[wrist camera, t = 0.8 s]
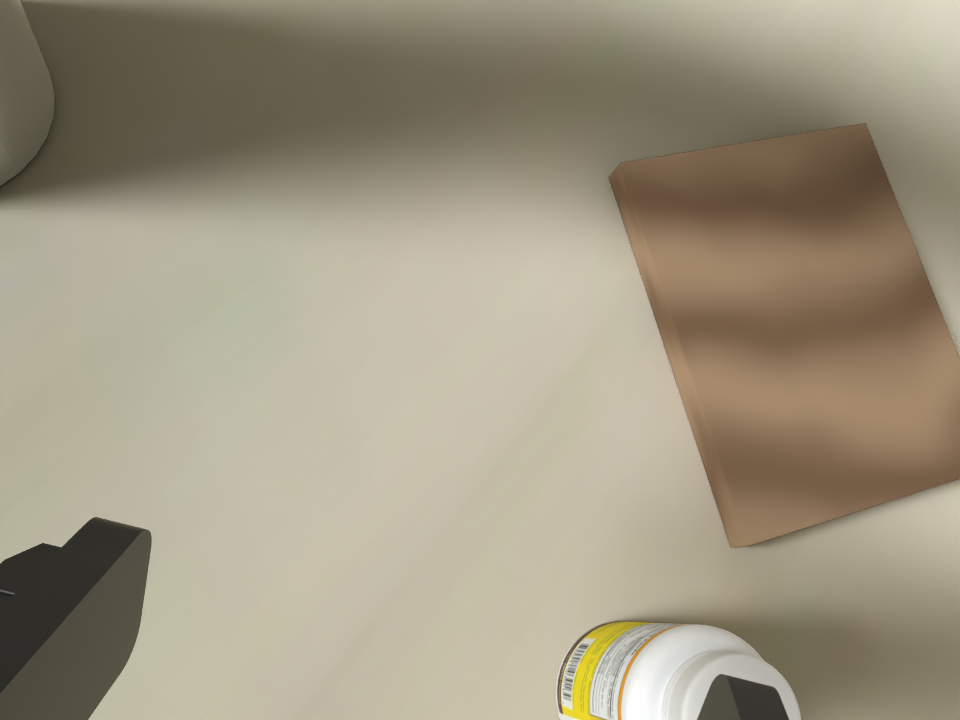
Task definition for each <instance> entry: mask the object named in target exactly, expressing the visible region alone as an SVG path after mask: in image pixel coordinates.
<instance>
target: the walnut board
mask: <svg viewBox="0 0 960 720" xmlns="http://www.w3.org/2000/svg"><path fill="white" fill-rule="evenodd" d="M609 180H610V183H611V186H612V189H613V192H614V195H615V198H616V201H617V204H618V207H619V210H620V213H621V216H622V219H623V222H624V225H625V228H626V232H627V235H628V238H629V241H630V244H631V247H632V250H633V253H634V256H635V259H636V262H637V265H638V268H639V271H640V274H641V277H642V280H643V283H644V286H645V289H646V292H647V295H648V298H649V301H650V304H651V307H652V310H653V313H654V316H655V319H656V322H657V325H658V328H659V331H660V334H661V337H662V341H663V344H664V347H665V350H666V353H667V356H668V359H669V362H670V365H671V368H672V371H673V374H674V377H675V380H676V383H677V386H678V389H679V392H680V395H681V398H682V401H683V404H684V407H685V410H686V413H687V416H688V419H689V422H690V425H691V428H692V431H693V434H694V437H695V440H696V443H697V446H698V450H699V453H700V456H701V459H702V462H703V465H704V468H705V471H706V474H707V477H708V480H709V483H710V486H711V489H712V492H713V495H714V498H715V501H716V504H717V507H718V510H719V513H720V516H721V519H722V522H723V525H724V528H725V531H726V534H727V537H728V540H729V543H730V546H731V548H733V547H742V546H749V545H752V544H756V543H759V542H762V541H765V540H768V539H771V538H774V537H778V536H781V535H784V534H787V533H790V532H793V531H797V530H800V529H803V528H806V527H809V526H812V525H815V524H819V523H822V522H825V521H828V520H831V519H834V518H837V517H841V516H844V515H847V514H850V513H853V512H856V511H860V510H863V509H866V508H869V507H872V506H875V505H878V504H882V503H885V502H888V501H891V500H894V499H897V498H900V497H904V496H907V495H910V494H913V493H916V492H919V491H923V490H926V489H929V488H932V487H935V486H938V485H941V484H945V483H948V482H951V481H954V480H957V479H960V359H959V356H958V354H957V351H956V349H955V346H954V343H953V341H952V338H951V336H950V333H949V331H948V328H947V326H946V323H945V321H944V318H943V316H942V313H941V311H940V308H939V306H938V303H937V301H936V298H935V296H934V293H933V291H932V288H931V286H930V283H929V281H928V278H927V276H926V273H925V271H924V268H923V266H922V263H921V261H920V258H919V256H918V253H917V251H916V248H915V246H914V243H913V241H912V238H911V236H910V233H909V231H908V228H907V226H906V223H905V221H904V218H903V216H902V213H901V211H900V208H899V206H898V203H897V201H896V198H895V196H894V193H893V191H892V188H891V186H890V183H889V181H888V178H887V176H886V173H885V171H884V168H883V166H882V163H881V160H880V158H879V155H878V153H877V150H876V148H875V145H874V143H873V140H872V138H871V135H870V133H869V130H868V128H867V125H866V123H863V124H857V125H850V126H844V127H838V128H832V129H826V130H820V131H813V132H807V133H801V134H795V135H789V136H783V137H776V138H770V139H764V140H758V141H752V142H746V143H739V144H733V145H727V146H721V147H715V148H709V149H702V150H696V151H690V152H684V153H678V154H672V155H665V156H659V157H653V158H647V159H641V160H635V161H628V162H622V163H620V164H619V165H618V167H617V168H616V169H615V170H614V172H613V173H612V174H611V175H610V176H609Z"/></svg>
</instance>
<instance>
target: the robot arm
mask: <svg viewBox="0 0 960 720" xmlns="http://www.w3.org/2000/svg"><path fill="white" fill-rule="evenodd" d="M54 100H55V94H54V90H53V85H52V80H51V75H50V73H49V70H48V68H47V66H46V63H45V61H44V58H43V56H42V54H41V51H40V49H39V46H38V44H37V41H36V39H35V37H34V34H33V32H32V29H31V27H30V25H29V22H28V19H27V16H26V14H25V11H24V9H23V6H22V4H21V2H20V0H0V186H1V185H2V184H4V183H5V182H7V181H8V180H10V179H11V178H13V177H14V176H15V175H17V174H18V173H20V172H21V171H22V170H23V169H24V168H25V167H26V165H27V164H28V163H29V162H30V161H31V160H32V159H33V158H34V157H35V156H36V155H37V153H38V151H39V150H40V148H41V146H42V145H43V143H44V141H45V140H46V138H47V136H48V133H49V130H50V127H51V123H52V120H53V117H54ZM150 551H151V533H150V531H149V530H146V529H142V528H138V527H134V526H130V525H126V524H122V523H118V522H114V521H110V520H106V519H102V518H98V517H95V518H92V519H91V520H89V521H88V522H87V523H86V524H85V525H84V526H83V527H82V528H81V529H80V530H79V531H78V532H77V533H76V534H75V535H74V536H73V537H72V538H71V539H70V540H69V541H68V542H67V543H66V544H65V545H64V546H63V547H62V548H61V547H57V546H53V545H49V544H45V543H42V544H40V545H37V546H35V547H33V548H30V549H28V550H26V551H24V552H21V553H19V554H17V555H15V556H12V557H10V558H8V559H5V560H4V561H3V562H2V563H1V564H0V720H88V719H89V717H90V716H91V714H92V713H93V712H94V710H95V709H96V707H97V706H98V704H99V703H100V702H101V700H102V699H103V697H104V696H105V695H106V693H107V692H108V690H109V689H110V687H111V686H112V685H113V683H114V682H115V680H116V679H117V677H118V676H119V675H120V673H121V672H122V670H123V669H124V667H125V665H126V663H127V661H128V659H129V657H130V655H131V652H132V650H133V647H134V645H135V642H136V639H137V635H138V632H139V627H140V622H141V615H142V608H143V601H144V594H145V587H146V579H147V572H148V565H149V558H150ZM697 720H789V718H788V715H787V713H786V710H785V708H784V705H783V703H782V700H781V697H780V695H779V693H778V691H777V690H776V688H774V687H772V686H768V685H764V684H760V683H756V682H752V681H748V680H744V679H740V678H736V677H732V676H728V675H724V674H719V675H718V676H716V677H715V679H714V680H713V682H712V683H711V686H710V688H709V690H708V693H707V695H706V698H705V701H704V703H703V706H702V708H701V711H700V713H699V716H698V718H697Z"/></svg>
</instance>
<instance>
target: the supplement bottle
mask: <svg viewBox="0 0 960 720" xmlns="http://www.w3.org/2000/svg"><path fill="white" fill-rule="evenodd" d="M719 674H724V675H728V676H732V677H736V678H740V679H744V680H748V681H752V682H756V683H760V684H764V685H768V686H772V687H774V688H776V690H777V691H778V693H779V695H780V697H781V700H782V703H783V705H784V708H785V710H786V713H787V715H788V718H789V720H801V715H800V710H799V705H798V703H797V700H796V697H795V695H794V693H793V691H792V689H791V687H790V685H789V684H788V682H787V681H786V679H785V678H784V677H783V676H782V675H781V674H780V673H779V672H778V671H777V670H776V669H775V668H774V667H773V666H771V665H770V664H769V663H767V662H765V661H764V660H763V659H762V657H761V656H760V655H759V654H758V653H757V652H756V650H755V649H754V648H752V647H751V646H750V645H749V644H748V643H747V642H745V641H744V640H743V639H741V638H740V637H738V636H737V635H735V634H733V633H731V632H729V631H727V630H724V629H721V628H718V627H714V626H709V625H700V624H674V623H649V622H626V621H617V622H610V623H605V624H601V625H599V626H596V627H594V628H592V629H590V630H588V631H587V632H585V633H584V634H583V635H581V636H580V637H579V638H578V639H577V640H576V641H575V642H574V643H573V644H572V646H571V647H570V648H569V650H568V651H567V653H566V655H565V656H564V658H563V660H562V663H561V665H560V668H559V672H558V676H557V682H556V703H557V709H558V713H559V717H560V720H697V718H698V716H699V713H700V711H701V708H702V706H703V703H704V701H705V698H706V695H707V693H708V690H709V688H710V686H711V683H712V682H713V680H714V679H715V677H716V676H718V675H719Z"/></svg>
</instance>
